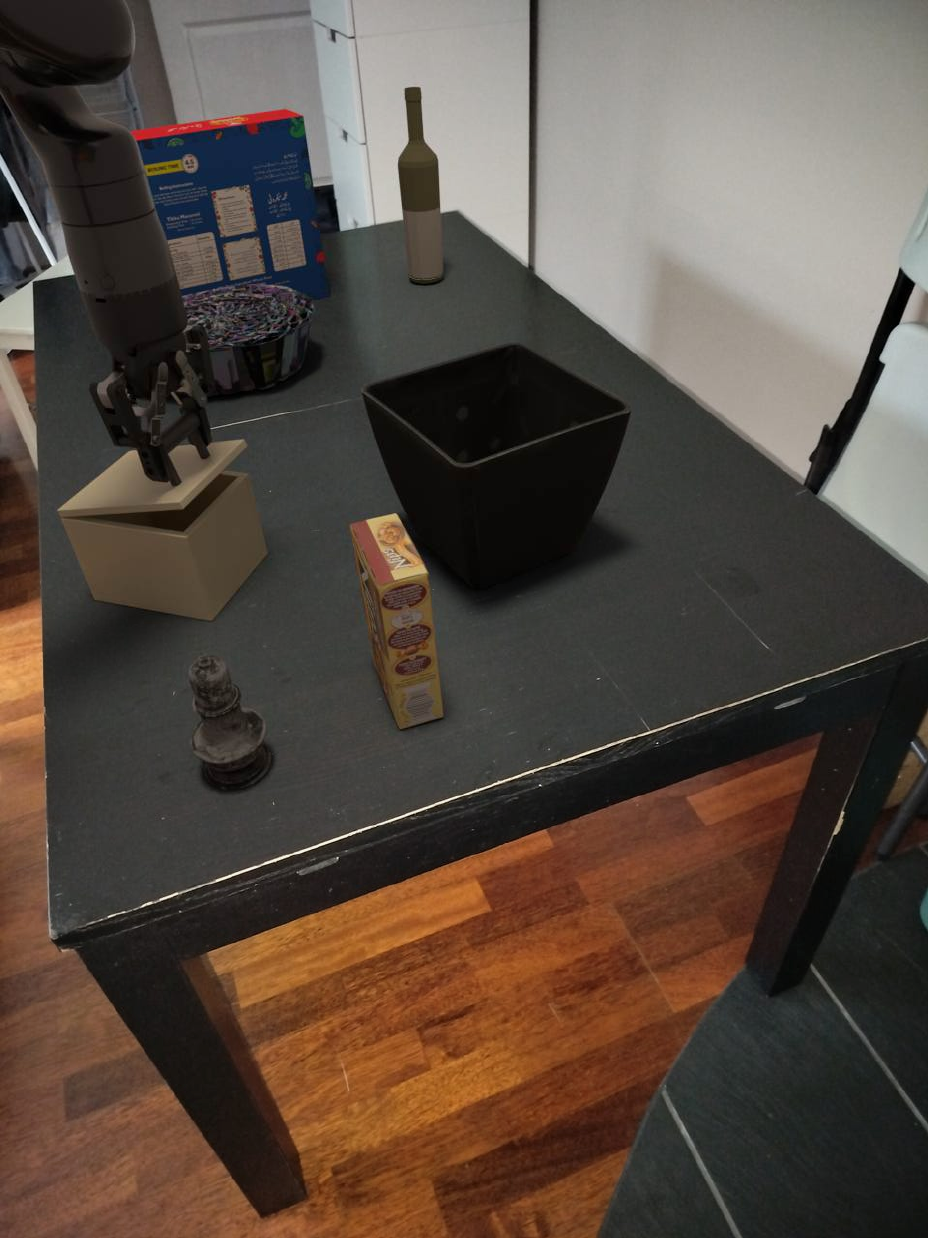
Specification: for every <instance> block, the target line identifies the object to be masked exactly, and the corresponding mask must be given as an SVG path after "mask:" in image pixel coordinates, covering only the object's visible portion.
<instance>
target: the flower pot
mask: <svg viewBox="0 0 928 1238" xmlns="http://www.w3.org/2000/svg"><path fill="white" fill-rule="evenodd" d="M360 390H361V394H362V399H363V402H364V403H363V404H364V406H365V411H366V414H367V418H368V421H369V424H370V427H371V431H372V434H373V437H374V440H375V442H376V445H377V449H378V451H379V454H380V456H381V460H382V462H383V465H384V467H385V470H386V472H387V475H388V477H389V480H390V483H391V484H392V487H393V489H394V491H395V494H396V495H397V498H398V500H399V502H400V504H401V506H402V509H403V511H404V513H405V514H406V517H407V519H408V521H409V523H410V525H411V526H412V528H413V530H414V532H415V534H416V535H417V536H418V538H419V539H421V540H422V541H423V542H424V543H425V544H426V546H428V547H429V548H430V549H431V550H432V551H433V552H434V553H435V554H436V555H437V556H438V557H439V558H441V560H443V561H444V562H445V564H447V565H448V566H449V568H451V569H452V570H453V571H454V572H455V573H456V575H458V576H459V577H460V578H461V579H462V580H463V581H464V582H465V583H466V584H468V586H469V587H471V588H473V589H485V588H487V587H489V586H492V585H494V584H497V583H499V582H501V581H504V580H506V579H509V578H511V577H514V576H516V575H519V574H521V573H524V572H526V571H529V570H531V569H534V568H535V567H538V566H541V565H543V564H545V563H548V562H550V561H553V560H555V559H558V558H560V557H562V556H564V555H567V554H569V553H571V552H573V551H574V550H575V549H576V547H577V545H578V544H579V542H580V540H581V539H582V537H583V536H584V534H585V532H586V530H587V528H588V526H589V524H590V522H591V520H592V518H593V516H594V514H595V512H596V510H597V508H598V506H599V504H600V502H601V499H602V497H603V495H604V493H605V491H606V489H607V486H608V483H609V482H610V479H611V475H612V473H613V471H614V468H615V465H616V462H617V460H618V457H619V454H620V451H621V447H622V445H623V441H624V438H625V435H626V431H627V428H628V425H629V421H630V418H631V414H632V409H633V406H632V404H630V403H629V402H628V401H626V400H624V399H622V398H620V397H619V396H617V395H616V394H614V393H612V392H610V391H608V390H606V389H604V388H603V387H601V386H599V385H598V384H596V383H594V382H592V381H590V380H589V379H587V378H585V377H584V376H581V375H580V374H578V373H576V372H575V371H573V370H571V369H569V368H567V367H566V366H564V365H562V364H560V363H559V362H557V361H555V360H553V359H552V358H550V357H548V356H547V355H544V353H541V352H539V351H538V350H536V349H534V348H532V347H530V346H529V345H527V344H525V343H523V342H518V341H514V342H513V341H512V342H507V343H504V344H499V345H497V346H494V347H490V348H486V349H483V350H479V351H476V352H473V353H470V354H465V355H462V356H459V357H456V358H452V359H449V360H445V361H442V362H439V363H435V364H431V365H428V366H424V367H421V368H417V369H414V370H410V371H407V372H403V373H400V374H397V375H394V376H390V377H387V378H383V379H380V380H377V381H373V382H369V383H366V384H364V385H363V386H362V387H361V388H360Z"/></svg>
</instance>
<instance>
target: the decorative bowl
mask: <svg viewBox="0 0 928 1238" xmlns="http://www.w3.org/2000/svg"><path fill="white" fill-rule="evenodd" d="M182 299H183V302H184V306H185V310H186V314H187V318H188V324H187V325H196V326H204V327H205V329H206V333H207V338H208V344H209V350H210V356H211V362H212V368H213V373H214V379H215V390H214V391H213V392H208V394H207V395H206V397H207V398H209V397H214V396H218V395H222V396H227V395H236V394H239V393H240V392H247V391H248V392H249V391H253V390H259V391H260V390H261V391H263V390H266V389H269V388H272V387H275V386H276V385H277V383H278V382H282V381H285V380H286V379H287V378H288V377H290V376H294V375H296V374H298V372H299V371H300V370H301V368H302V364H303V363H304V362H305V358H306V353H307V347H308V342H309V338H310V337H309V336H310V331H311V325H312V321H313V316H314V313H315V312H316V308H315V299H313V298H310V297H308V296H306V295H304V294H302V293H301V292H299V291H295V290H293V289H291V288H289V287H284V286H276V285H264V284H247V285H240V286H235V287H226V288H217V289H212V290H209V291H204V292H198V293H193V294H189V295H185V296H182ZM194 367H195V373H196V375H197V377H198V378H202V373H201V369H200V367H198V366H194Z"/></svg>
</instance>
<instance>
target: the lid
mask: <svg viewBox="0 0 928 1238" xmlns="http://www.w3.org/2000/svg"><path fill="white" fill-rule="evenodd" d="M200 424H201V421H200V418H199V416H198V415H197V414H196V413H195V412H193V411H185V412H184V413H183V414H180V415H179V416H177V418H175V419H174V420H173V421H171V422H170V423H169V424H168V425H167V426H165V427H164V428H163V429H162V430H160V442H163V444H164V447H165V451H166V454H167V457H168V460H169V464H170V467H171V470H172V473H173V478H172V479H171V480H170V481H168V482H167V483H164V482H157V481H152V480H150V479H149V478H147V476H146V475H145V473H144V470H143V467H142V464H141V461H140V458H139V455H138V452H137V449H135V450H129V451H127V452H126V453H125V454H124V455H122V456H121V457H120V458H119V459H118V460H116V461H115V462H114V463H112V464H111V465H110V466H109V467H108V468H106V469H105V470H104V471H103V472H102V473H100V474H99V475H98V476H97V477H96V478H94V479H93V480H91V482H89V483H88V484H87V485H85V486H84V487H83V488H82V489H81V490H79V492H77V493H76V494H75V495H74V496H72V497H71V498H70V499H69V500H68V501H66V502H64V504H63V505H62V506H60V507H59V508H58V509H57V510H56V512H57V514H58V515H59V517H60V518H61V517H72V516H88V515H103V514H119V513H135V512H150V511H166V510H181V509H184V508H185V507H186V506H187V505H188V504H189V503H190V502H191V501H192V500H193V499H194V498H195V497H196V496H197V495H198V494H199V493H200V492H201V491H202V490H203V489H204V488H205V487H206V486H207V485H208V484H209V483H210V482H211V481H212V480H214V479H215V478H216V477H217V476H218V475H219V474H220V473H221V472H222V471H223V470H225V469H226V468H227V467H228V466H229V465H230V464H231V463H232V462H233V461H234V460H235V459H236V458H237V457H238V456H239V455H240V454H241V453H242V452H244V451H245V449H246V448H247V447H248V444H247V442H246V439H244V438H243V439H233V440H225V441H224V440H223V441H214V442H213V441H212V443H211V444H209V445H208V446H207V447H206V445H205V443H204V440H203V438H202V436H201V434H200V432H199V429H198V427H199V426H200ZM189 435H190V436H191V438H192V441H193V443H194V445H195V446H193V445H191V444H185V445H180V444H182V442H184V441H185V440H186V439H188V438H187V437H188V436H189Z"/></svg>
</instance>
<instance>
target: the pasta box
mask: <svg viewBox="0 0 928 1238" xmlns="http://www.w3.org/2000/svg"><path fill="white" fill-rule="evenodd" d="M129 131H130V132H131V133H132V134H133V136H134V137H135V139H136V141H137V144H138V147H139V149H140V153H141V156H142V159H143V163H144V167H145V170H146V174H147V178H148V182H149V185H150V189H151V193H152V197H153V201H154V204H155V208H156V211H157V215H158V217H159V220H160V222H161V225H162V227H163V230H164V232H165V235H166V238H167V241H168V245H169V249H170V253H171V257H172V260H173V264H174V268H175V272H176V276H177V279H178V283H179V287H180V291H181V295H182V296H185V295H189V294H193V293H198V292H204V291H209V290H212V289H217V288H226V287H235V286H240V285H247V284H264V285H276V286H284V287H289V288H291V289H293V290H295V291H299V292H301V293H302V294H304V295H306V296H308V297H310V298H313V299H314V300H317V299H318V300H319V299H323V298H327V297H330V291H329V290H330V289H329V283H328V276H327V270H326V262H325V255H324V249H323V241H322V235H321V228H320V221H319V215H318V208H317V201H316V194H315V187H314V179H313V172H312V167H311V166H312V165H311V159H310V153H309V146H308V145H309V144H308V140H307V133H306V132H307V131H306V125H305V120H304V115H303V114H301V113H297V112H295V111H292V110H289V109H287V108H282V109H275V110H268V111H262V112H261V111H260V112H255V113H248V114H247V113H246V114H241V115H233V116H226V117H219V118H213V119H212V118H211V119H205V120H198V121H192V122H184V123H178V124H171V125H164V126H158V127H150V128H143V129H137V130H129ZM326 290H328V291H326ZM323 291H324V292H323ZM314 293H315V294H314Z"/></svg>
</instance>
